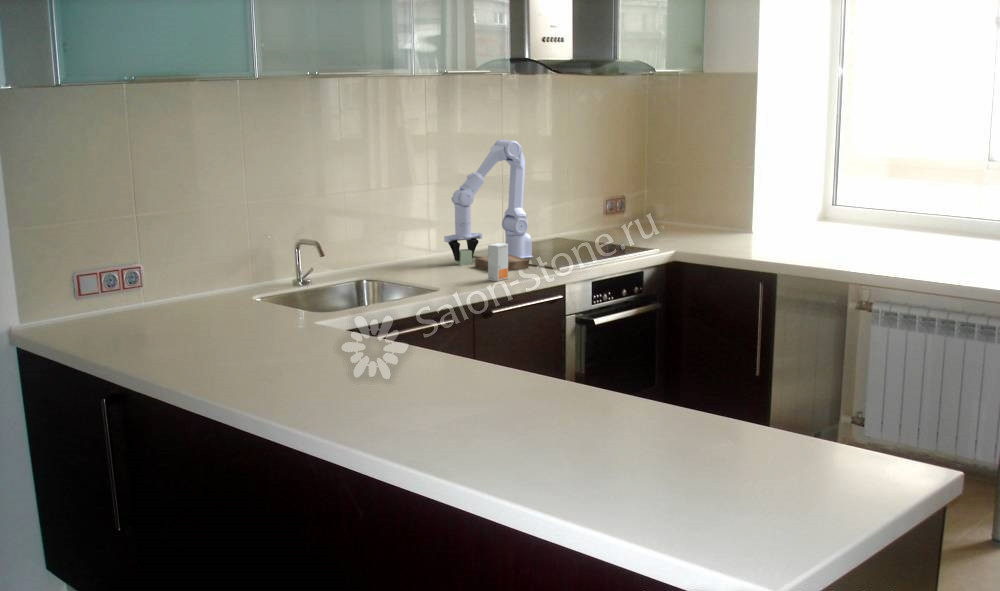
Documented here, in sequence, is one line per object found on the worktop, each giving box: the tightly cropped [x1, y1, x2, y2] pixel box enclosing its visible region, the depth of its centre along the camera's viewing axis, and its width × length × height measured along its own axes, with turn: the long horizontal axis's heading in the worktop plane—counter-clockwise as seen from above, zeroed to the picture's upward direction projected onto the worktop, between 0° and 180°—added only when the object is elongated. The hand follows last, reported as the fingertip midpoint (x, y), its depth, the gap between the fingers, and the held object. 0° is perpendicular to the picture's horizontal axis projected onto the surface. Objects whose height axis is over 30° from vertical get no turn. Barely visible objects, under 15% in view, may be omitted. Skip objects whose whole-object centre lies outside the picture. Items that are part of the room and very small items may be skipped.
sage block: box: [454, 248, 473, 266], centre depth 364 cm, size 4×4×5 cm
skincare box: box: [487, 242, 509, 282], centre depth 334 cm, size 6×4×12 cm
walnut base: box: [474, 254, 530, 272], centre depth 356 cm, size 14×14×3 cm
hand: (463, 259), depth 364 cm, fingers open, 5 cm apart
